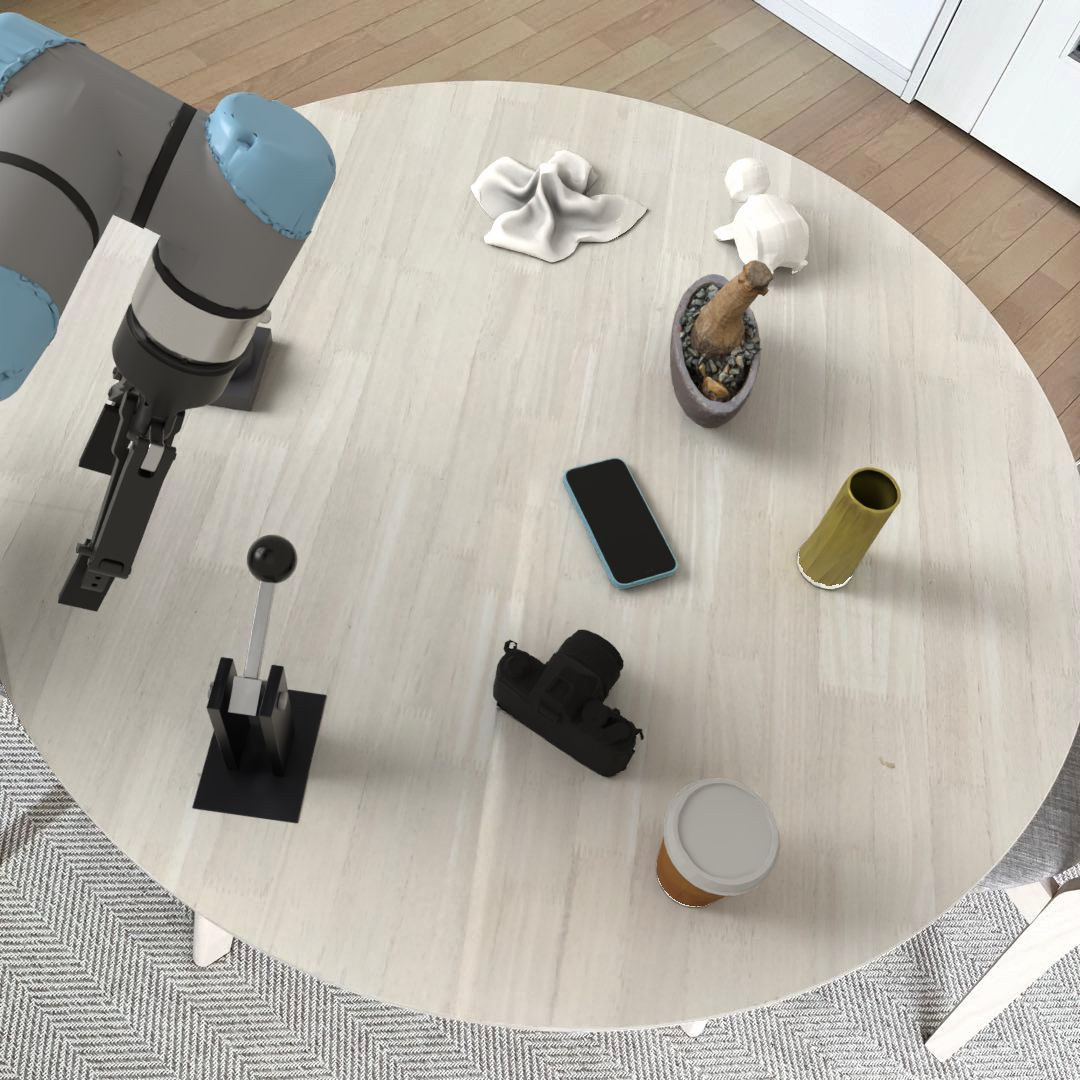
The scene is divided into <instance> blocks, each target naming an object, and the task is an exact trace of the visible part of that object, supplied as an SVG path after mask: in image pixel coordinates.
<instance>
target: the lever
mask: <svg viewBox="0 0 1080 1080" xmlns="http://www.w3.org/2000/svg"><path fill="white" fill-rule="evenodd" d="M298 557H299V556H298V552H297V549H296V548H295V545H294V544H293V543H292V542H291V541H290V540H289V539H287V538H286V537H284V536H282V535H280V534H265V535H262V536H260V537H259V538H257V539H256V540H254V541H253V542H252V543H251V545H250V546H249V548H248V550H247V553H246V565H247V569H248V571H249V573H250V575H251V576H252V577H254V578H255V579H256V580H257V581H259V587H258V591H257V592H258V593H257V597H256V603H255V609H254V615H253V619H252V625H251V631H250V636H249V642H248V647H247V653H246V660H245V665H244V670H243V675H239V676H234V681H233V686H232V692H231V697H230V703H229V709H228V712H231V713H238V714H245V715H252V716H258V715H259V711H260V707H261V703H262V699H263V696H264V692H265V688H266V684H267V680H268V679H263V678H262V679H261V678H260V676H261V672H262V671H261V670H262V665H263V659H264V653H265V647H266V643H267V638H268V637H267V636H268V631H269V625H270V620H271V613H272V609H273V603H274V597H275V596H274V595H275V591H276V585H277V584H281V583H284V582H286V581H287V580H289V578H291V577H292V575H293V574H294V573H295V571H296V569H297V567H298V559H299V558H298Z"/></svg>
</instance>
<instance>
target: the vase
mask: <svg viewBox="0 0 1080 1080" xmlns="http://www.w3.org/2000/svg"><path fill="white" fill-rule="evenodd" d="M901 501H902V493H901V489H900V486H899V484H898V482H897V481H896V479H895V477H893V476H892V475H890V474H889V473H888V472H887V471H885V470H883V469H880V468H878V467H872V466H866V467H865V466H864V467H861V468H858V469H856V470H854V471H853V472H852V473H851V474H849V476H848V477H847V478H846V480H845V481H844V482H843V484H842V485H841V487H840V489H839V491H838V493H837V494H836V495H835V497H834V499H833V501H832V502H831V504H830V505H829V507H828V509H827V511H826V512H825V514H824V515H823V516H822V518H821V520H820V521H819V523H818V525H817V526H816V528H815V529H814V530H813V532H812V533H811V534H810V536H809V537H808V538H807V540H806V541H805V542H804V543H803V544H804V545H803V544H802V545H803V546H802V545H801V546H802V547H801V546H800V547H801V548H800V547H799V549H800V551H799V557H800V558H799V564H800V565H801V567H802V568H803V572H804V573H805V574H806V575H807V576H809V577H811V579H812V580H814V582H818V583H822V584H825V585H826V586H832V585H836V584H839V585H840V584H843V583H844V582H845V581H846V580H847V579H848V578H849V577H851V576H852V575H853V576H854V574H855V572H856V570H857V568H858V566H859V565H860V564H861V562H862V560H863V559H864V557H865V555H866V554H867V552H868V551H869V549H870V548H871V546H872V544H873V543H874V542H875V540H876V539H877V537H878V535H879V534H880V532H881V531H882V529H883V528H884V526H885V524H886V523H887V522H888V520H889V519H890V517H891V516H892V514H893V513H894V511H895V510H896V509H897V507H898V506H899V505H900V503H901Z"/></svg>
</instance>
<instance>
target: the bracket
mask: <svg viewBox="0 0 1080 1080" xmlns="http://www.w3.org/2000/svg"><path fill="white" fill-rule="evenodd" d="M234 660H235V659H234V658H231V657H224V656H221V657H220V658H219V661H218V665H217V669H216V673H215V676H214V679H213V681H211V682H210V683H209V687H208V689H207V699H208V700H207V704H206V711H207V713H208V717H209V719H210V723H211V725H212V729H213V732H212V735H211V739H210V743H209V746H208V750H207V752H206V757H205V761H204V764H203V767H202V771H201V775H200V778H199V782H198V785H197V789H196V792H195V796H194V799H193V803H192V806H191V808H192V809H193V810H199V811H207V812H214V813H220V814H228V815H235V816H242V817H248V818H249V817H250V818H256V819H263V820H270V821H277V822H284V823H291V824H298V823H299V818H300V814H301V809H302V805H303V801H304V796H305V793H306V787H307V783H308V779H309V774H310V769H311V766H312V760H313V756H314V752H315V748H316V743H317V739H318V734H319V730H320V727H321V721H322V717H323V712H324V707H325V704H326V698H327V695H326V694H323V693H316V692H309V691H304V690H303V691H302V690H295V689H288V683H287V677H286V672H285V667H284V665H278V664H271V665H270V668H269V673H268V675H267V679H266V680H267V684H266V688H265V692H264V696H263V699H262V703H261V707H260V711H259V715H258V716H252V715H245V714H238V713H231V712H228V709H229V703H230V697H231V692H232V686H233V681H234V676H238V671H237V667H236V665H235V661H234Z"/></svg>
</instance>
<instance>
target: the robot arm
mask: <svg viewBox="0 0 1080 1080" xmlns="http://www.w3.org/2000/svg"><path fill="white" fill-rule="evenodd" d="M336 162H337V161H336V157H335V155H334V151H333V149H332V147H331V145H330V143H329V142H328V139H326V137H325V136H324V135H323V133H322V132H321V131H320V130H319V128H318V127H317V126H315V125H314V124H313V123H312V122H311V121H310V120H309V119H308V118H306V117H305V116H304V115H303V114H302V113H300V112H298V111H297V110H296V109H294V108H292V107H291V106H289V105H287V104H285V103H283V102H281V101H279V100H276V99H272V100H269V99H267V98H265V97H263V96H262V95H260V94H259V93H254V92H249V91H247V92H245V91H241V92H240V91H239V92H235V93H231V94H228V95H226V96H224V97H223V98H222V99H221V100H220V101H219V102H218V104H217V106H216V107H215V108H214V109H212V110H211V111H210V112H208V111H206V110H205V109H203V108H200V107H198V108H196V107H194V106H193V105H191V104H189V103H187V102H185V101H183V100H182V99H180V98H178V97H176V96H175V95H173V94H171V93H170V92H167V91H165V90H163V89H162V88H161V87H159V86H157V85H155V84H154V83H151V82H150V81H147V80H146V79H144V78H142V77H141V76H139V75H137V74H136V73H134V72H132V71H130V70H128V69H127V68H125V67H123V66H121V65H120V64H118V63H116V62H114V61H112V60H111V59H109V58H107V57H105V56H103V55H101V54H100V53H98V52H97V51H95V50H93V49H91V48H90V47H88V45H87V44H86V43H84V42H83V41H82V40H80V39H78V38H73V37H69V36H67V35H65V34H63V33H61V32H59V31H58V30H55V29H54V28H51V27H49V26H47V25H45V24H43V23H39V22H37V21H35V20H33V19H31V18H28V17H27V16H25V15H23V14H20V13H18V12H10V11H9V12H2V13H0V402H3V401H6V400H7V399H10V398H11V397H12V396H13V395H15V394H16V393H17V392H18V391H19V390H20V389H21V387H22V386H23V385H24V383H25V382H26V380H27V379H28V377H29V375H30V373H32V371H33V369H34V367H36V364H37V363H38V362H39V360H40V358H42V356H43V354H44V352H45V351H46V350H47V348H48V347H49V346H50V344H51V343H52V342H53V340H54V339H55V337H56V336H57V332H58V328H59V327H58V326H59V323H60V319H61V318H62V316H63V313H64V311H65V309H66V308H67V305H68V303H69V301H70V299H71V297H72V295H73V293H74V291H75V288H76V287H77V284H78V283H79V280H80V278H81V276H82V274H83V272H84V270H85V268H86V267H87V264H88V262H89V261H90V259H91V258H92V256H93V254H94V252H95V250H96V248H97V247H98V244H99V243H100V241H101V239H102V237H103V235H104V233H105V231H106V229H107V227H108V225H109V224H110V221H111V220H112V218H113V216H114V217H117V218H118V219H121V220H124V221H125V222H128V223H130V224H132V225H134V226H137V227H139V228H141V229H142V230H144V229H146V230H148V231H150V232H151V233H154V234H157V235H159V237H158V239H157V242H156V243H155V244H154V246H153V248H152V250H151V252H150V254H149V257H148V259H147V261H146V263H145V266H144V268H143V270H142V272H141V275H140V277H139V279H138V282H137V284H136V286H135V289H134V291H133V293H132V296H131V302H130V303H129V304H128V306H127V309H126V311H125V313H124V315H123V318H122V320H121V322H120V325H119V327H118V329H117V331H116V334H115V336H114V338H113V340H112V345H111V354H112V358H113V362H114V364H115V366H114V367H113V369H112V373H111V374H112V379H113V380H116V381H117V382H116V383H114V384H112V385H111V386H110V388H109V389H108V392H107V396H108V397H107V400H108V401H110V402H111V403H110V404H109V403H107V402H105V403H104V405H103V407H102V410H101V412H100V414H99V416H98V418H97V419H96V420H97V421H96V423H95V425H94V426H93V429H92V431H91V434H90V436H89V438H88V440H87V443H86V444H85V446H84V449H83V451H82V453H81V456H80V458H79V461H78V468H81V469H85V470H89V471H92V472H96V473H100V474H102V475H103V474H104V475H107V476H110V477H109V481H108V484H107V487H106V491H105V494H104V496H103V501H102V503H101V506H100V510H99V513H98V517H97V520H96V523H95V526H94V529H93V532H92V535H91V538H87V537H86V539H85V540H84V543H79V542H77V543H76V547H75V553H76V554H78V555H77V557H76V559H75V561H74V563H73V566H72V568H71V569H70V571H69V573H68V576H67V578H66V580H65V581H64V583H63V586H62V587H61V590H60V592H59V594H58V596H57V597H58V598H57V604H58V605H59V604H60V605H65V606H69V607H73V608H78V609H82V610H87V611H91V612H99V609H100V607H101V605H102V603H103V601H104V600H105V598H106V596H107V594H108V593H109V591H110V588H111V587H112V585H113V583H114V581H115V579H116V578H117V579H121V580H127V579H128V578H129V576H131V574H132V571H133V570H132V569H133V565H134V562H135V560H136V556H137V554H138V551H139V548H140V546H141V543H142V540H143V537H144V535H145V533H146V529H147V527H148V524H149V521H150V519H151V517H152V513H153V511H154V508H155V506H156V502H157V500H158V497H159V494H160V492H161V489H162V487H163V484H164V481H165V479H166V477H167V475H168V473H169V472H170V470H171V469H170V468H171V467H172V464H173V462H174V461H176V458H177V456H178V455H177V454H178V453H177V447H176V446H174V445H173V443H174V439H175V437H176V435H177V434H178V433H180V431H181V430H182V426H183V423H184V420H185V416H186V410H191V409H197V408H203V407H205V406H210V405H209V404H211V403H213V402H214V401H216V400H217V399H218V398H219V397H220V396H221V395H222V393H223V391H224V390H225V388H226V386H227V384H228V382H229V380H230V378H231V377H232V375H233V373H234V371H235V369H236V367H237V365H238V364H239V362H240V359H241V354H242V353H243V352H244V351H245V349H246V347H247V345H248V343H249V341H250V340H251V338H252V336H253V334H254V332H255V329H256V327H257V326H259V324H263V325H267V324H269V323H270V321H271V320H272V311H271V310H270V309H268V308H269V307H270V306H271V303H272V301H273V299H274V298H275V296H276V294H277V292H278V291H279V290H280V287H281V285H282V284H283V282H284V280H285V278H286V277H287V275H288V273H289V271H290V270H291V267H292V266H293V264H294V262H295V260H296V259H297V257H298V255H299V254H300V251H301V250H302V248H303V246H304V244H305V243H306V241H307V239H308V238H309V237H310V235H311V234H312V233H313V231H312V230H313V228H314V226H315V223H316V222H317V221H316V220H317V219H318V216H319V214H320V212H321V209H322V208H323V205H324V204H325V201H326V199H327V197H328V195H329V193H330V191H331V188H332V186H333V184H334V182H335V180H336V176H337V163H336ZM131 442H132V443H131ZM130 444H131V445H130Z"/></svg>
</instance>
